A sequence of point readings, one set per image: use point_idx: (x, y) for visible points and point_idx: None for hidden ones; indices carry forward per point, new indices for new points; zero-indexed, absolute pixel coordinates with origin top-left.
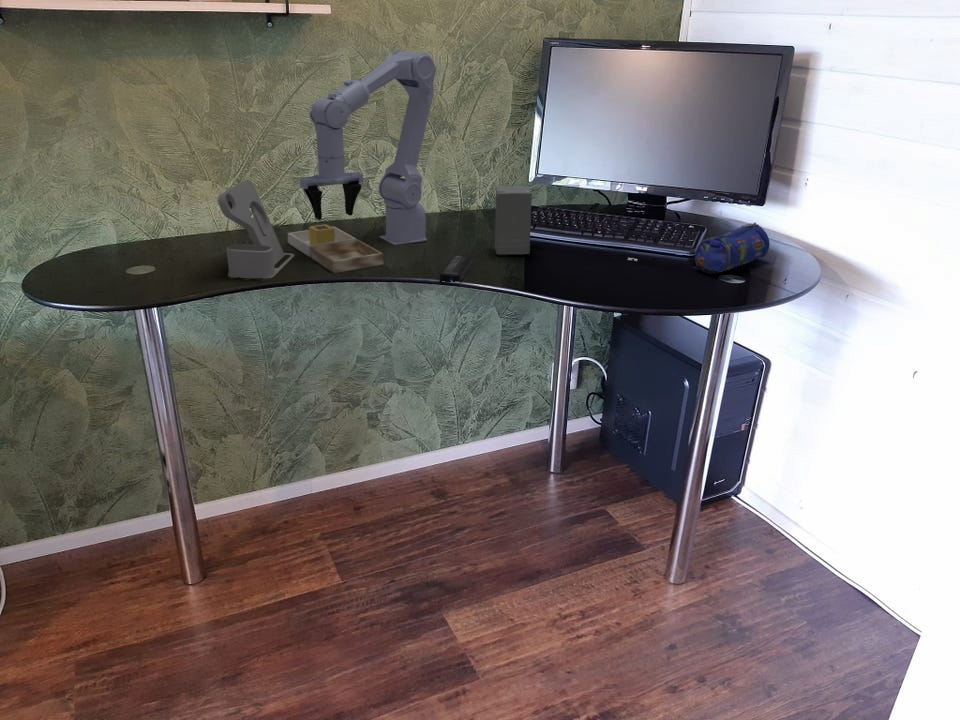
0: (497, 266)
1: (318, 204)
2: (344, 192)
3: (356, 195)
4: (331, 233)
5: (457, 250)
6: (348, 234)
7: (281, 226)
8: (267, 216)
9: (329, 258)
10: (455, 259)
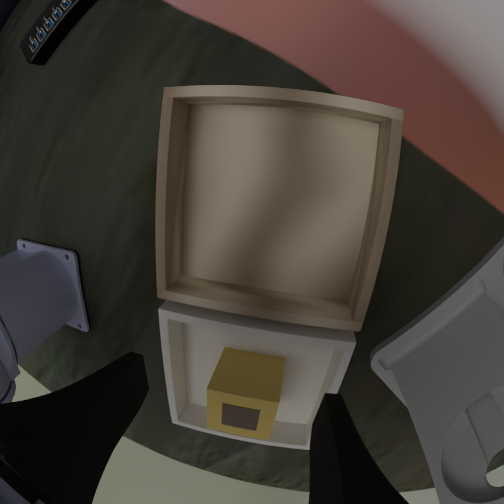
0: (23, 23)
1: (362, 468)
2: (98, 475)
3: (35, 402)
4: (222, 380)
5: (6, 144)
6: (164, 358)
7: (245, 481)
8: (433, 474)
9: (394, 159)
10: (48, 27)
